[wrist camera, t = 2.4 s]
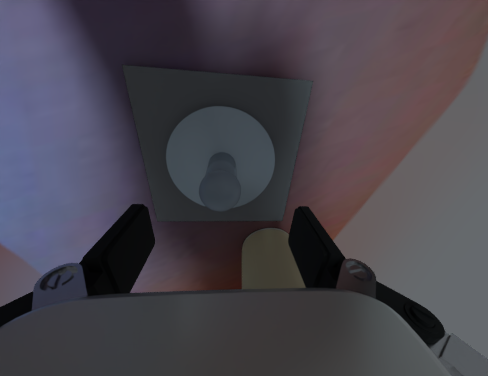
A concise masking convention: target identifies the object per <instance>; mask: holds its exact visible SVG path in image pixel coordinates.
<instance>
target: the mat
mask: <svg viewBox="0 0 488 376" xmlns="http://www.w3.org/2000/svg"><path fill="white" fill-rule="evenodd" d="M122 68H123V72H124V77H125V81H126V85H127V90H128V94H129V99H130V103H131V107H132V112H133V116H134V121H135V125H136V129H137V134H138V138H139V143H140V147H141V152H142V156H143V160H144V165H145V169H146V174H147V178H148V182H149V187H150V191H151V196H152V200H153V204H154V209H155V213H156V218H157V221H282V220H283V216H284V211H285V207H286V202H287V197H288V193H289V188H290V184H291V179H292V175H293V170H294V166H295V161H296V157H297V152H298V147H299V143H300V138H301V134H302V129H303V125H304V120H305V116H306V111H307V107H308V102H309V97H310V93H311V88H312V84H313V81H307V80H296V79H284V78H272V77H260V76H248V75H237V74H225V73H213V72H201V71H189V70H178V69H166V68H154V67H142V66H130V65H122ZM212 106H227V107H232V108H236V109H239V110H241V111H243V112H246V113H247V114H249V115H250V116H252V117H253V118H254V119H256V120H257V121H258V122H259V123H260V124H261V125H262V126H263V128H264V129H265V130H266V132H267V133H268V135H269V137H270V139H271V141H272V144H273V147H274V153H275V166H274V171H273V175H272V177H271V180H270V182H269V183H268V185H267V187H266V188H265V189H264V190H263V192H262V193H261V194H260V195H259V196H257V197H256V198H255V199H253V200H252V201H250V202H248V203H247V204H244V205H242V206H239V207H235V208H231V209H230V210H227V211H223V212H217V211H213V210H211V209H209V208H207V207H206V206H203V205H200V204H198V203H196V202H194V201H192V200H191V199H189V198H188V197H186V196H185V195H184V194H183V193H182V192H181V191H180V190H179V189H178V188H177V186H176V185H175V184H174V182H173V180H172V178H171V177H170V174H169V171H168V168H167V162H166V149H167V145H168V141H169V139H170V136H171V134H172V132H173V131H174V129H175V128H176V126H177V125H178V124H179V123H180V122H181V121H182V120H183V119H184V118H186V117H187V116H188V115H190V114H191V113H193V112H195V111H197V110H199V109H203V108H206V107H212Z"/></svg>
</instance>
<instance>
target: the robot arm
mask: <svg viewBox="0 0 488 376" xmlns="http://www.w3.org/2000/svg"><path fill="white" fill-rule="evenodd" d="M154 244H155V238H154V233H153V229H152V224H151V220H150V216H149V211H148V208H147V207H145V206H144V205H143V204H132V205H131V206H130V207H129V208H128V209H127V210H126V212H125V213H124V214H123V215H122V216H121V217H120V218H119V219H118V220H117V221H116V222H115V223H114V224H113V226H112V227H111V228H110V229H109V230H108V231H107V232H106V233H105V234H104V235H103V236H102V237H101V238H100V240H99V241H98V242H97V243H96V244H95V245H94V246H93V247H92V248H91V249H90V250H89V251H88V252H87V254H86V255H85V256H84V257H83V260H82V261H81V262H80V263H79V264H78V263H68V264H64V265H61V266H58V267H56V268H54V269H52V270H50V271H49V272H47V273H46V274H44V275H43V276H42V277H41V278H40V279H39V280H38V281H37V283H36V284H35V286H34V290H33V292H31V293H28V294H26V295H24V296H22V297H20V298H18V299H16V300H14V301H12V302H10V303H8V304H6V305H4V306H2V307H0V376H488V359H487V358H485V357H484V356H483V355H481V354H480V353H479V352H477V351H476V350H475V349H473V348H472V347H470V346H469V345H468V344H466V343H465V342H464V341H462V340H461V339H460V338H458V337H457V336H456V335H454V334H453V333H452V334H450V335H449V334H448V333H446V332H445V330H444V327H443V325H442V324H441V322H440V321H439V320H438V319H437V318H436V317H435V315H433V314H432V313H431V312H430V311H429V310H428V309H426V308H425V307H423V306H421V305H420V304H418V303H416V302H414V301H412V300H410V299H409V298H407V297H405V296H403V295H401V294H399V293H398V292H396V291H394V290H392V289H390V288H388V287H387V286H385V285H383V284H381V283H379V282H377V281H376V276H375V274H374V272H373V271H372V270H371V268H370V267H368V266H367V265H366V264H364V263H363V262H361V261H358V260H356V259H345V257H344V256H343V254H342V253H341V251H340V250H339V249H338V247H337V246H336V245H335V243H334V242H333V240H332V239H331V238H330V236H329V235H328V233H327V232H326V231H325V229H324V228H323V227H322V225H321V224H320V222H319V221H318V220H317V218H316V217H315V215H314V214H313V213H312V211H311V210H310V209H309V207H306V206H299V207H298V209H295V212H294V216H293V221H292V225H291V229H290V233H289V238H288V244H289V247H290V249H291V252H292V254H293V257H294V259H295V262H296V264H297V267H298V269H299V272H300V274H301V277H302V279H303V282H304V284H305V287H306V288H270V289H233V290H201V291H172V292H144V293H130V291H131V289H132V287H133V285H134V284H135V282H136V280H137V278H138V276H139V274H140V272H141V270H142V268H143V266H144V264H145V262H146V260H147V258H148V256H149V255H150V253H151V251H152V249H153V247H154Z"/></svg>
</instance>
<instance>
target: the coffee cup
mask: <svg viewBox="0 0 488 376" xmlns="http://www.w3.org/2000/svg"><path fill="white" fill-rule="evenodd" d="M288 238H289V234H287V233H286V232H285V231H283V230H281V229H278V228H264V229H260V230H257V231H255V232H253V233H252V234H250V235H249V236H248V237H247V238H246V239H245V241H244V243H243V246H242V289H270V288H306V287H305V284H304V282H303V279H302V277H301V274H300V272H299V269H298V267H297V264H296V262H295V259H294V257H293V254H292V252H291V249H290V247H289V244H288Z"/></svg>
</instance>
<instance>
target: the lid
mask: <svg viewBox="0 0 488 376" xmlns="http://www.w3.org/2000/svg"><path fill="white" fill-rule="evenodd" d="M166 162H167V168H168V171H169V174H170V177H171V178H172V180H173V182H174V184H175V185H176V186H177V188H178V189H179V190H180V191H181V192H182V193H183V194H184V195H185V196H186V197H188V198H189V199H191V200H192V201H194V202H196V203H198V204H200V205H203V206H206V207H207V208H209V209H211V210H213V211H217V212H223V211H227V210H230V209H231V208H235V207H239V206H242V205H244V204H247V203H248V202H250V201H252V200H253V199H255V198H256V197H257V196H259V195H260V194H261V193H262V192H263V190H264V189H265V188H266V187H267V185H268V183H269V182H270V180H271V177H272V175H273V171H274V166H275V153H274V147H273V144H272V141H271V139H270V137H269V135H268V133H267V132H266V130H265V129H264V128H263V126H262V125H261V124H260V123H259V122H258V121H257V120H256V119H254V118H253V117H252V116H250V115H249V114H247V113H246V112H243V111H241V110H239V109H236V108H232V107H227V106H212V107H206V108H203V109H199V110H197V111H195V112H193V113H191V114H190V115H188V116H187V117H186V118H184V119H183V120H182V121H181V122H180V123H179V124H178V125H177V126H176V128H175V129H174V131H173V132H172V134H171V136H170V139H169V141H168V145H167V149H166Z"/></svg>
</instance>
